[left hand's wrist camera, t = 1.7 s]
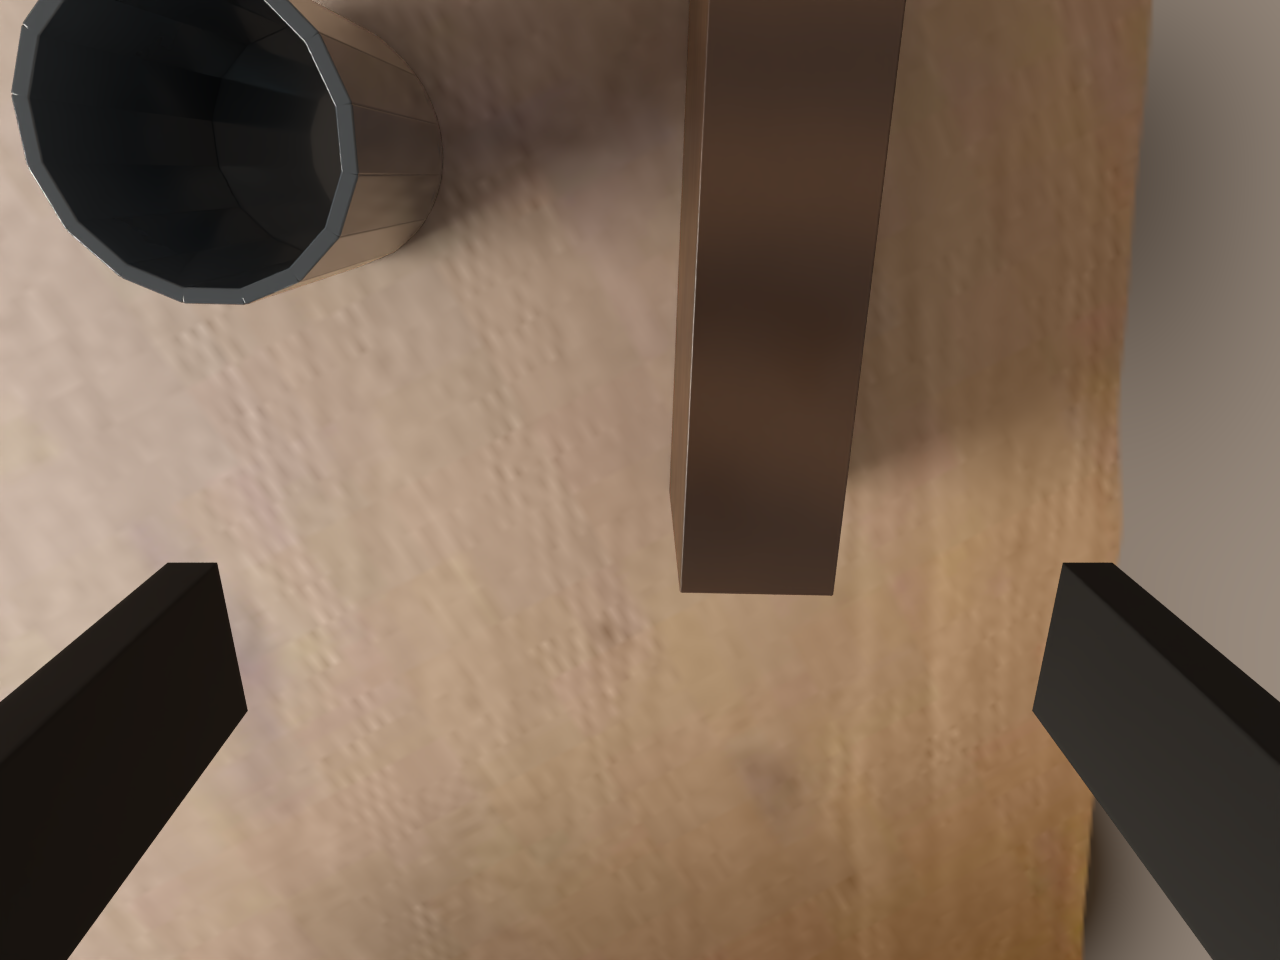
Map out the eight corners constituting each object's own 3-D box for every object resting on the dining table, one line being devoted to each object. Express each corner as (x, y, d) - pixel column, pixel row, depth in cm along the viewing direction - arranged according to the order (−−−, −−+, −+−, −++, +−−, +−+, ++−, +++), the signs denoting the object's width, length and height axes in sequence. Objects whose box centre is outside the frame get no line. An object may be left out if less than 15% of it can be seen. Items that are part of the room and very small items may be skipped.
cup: (449, 268, 28) (370, 308, 20) (229, 262, 28) (56, 300, 20) (435, 20, 26) (337, -56, 17) (192, 13, 25) (-26, -66, 17)
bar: (786, 495, 31) (833, 596, 24) (669, 492, 31) (680, 592, 24) (870, -391, 22) (990, -680, 15) (705, -397, 22) (741, -690, 15)
